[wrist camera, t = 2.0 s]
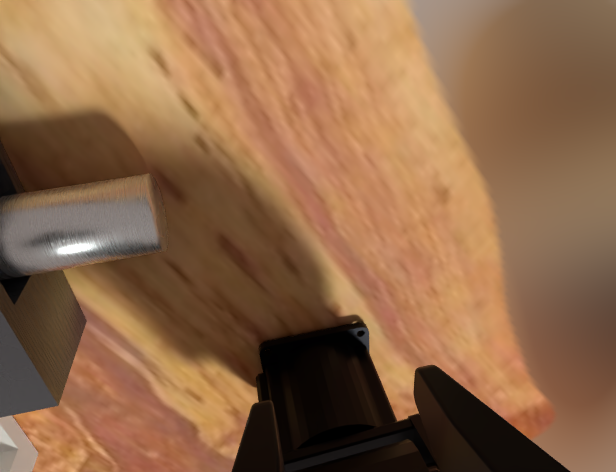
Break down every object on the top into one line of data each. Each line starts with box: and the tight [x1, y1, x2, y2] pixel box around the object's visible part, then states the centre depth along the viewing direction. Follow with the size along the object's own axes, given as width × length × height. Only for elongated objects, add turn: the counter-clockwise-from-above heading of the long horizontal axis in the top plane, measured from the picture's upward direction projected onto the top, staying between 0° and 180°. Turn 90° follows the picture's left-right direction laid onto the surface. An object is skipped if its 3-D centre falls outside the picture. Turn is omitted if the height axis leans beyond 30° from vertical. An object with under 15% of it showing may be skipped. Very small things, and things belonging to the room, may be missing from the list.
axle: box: [0, 174, 168, 280], centre depth 17 cm, size 12×3×3 cm, turn 95°
